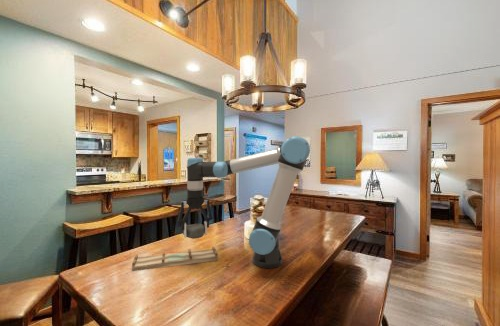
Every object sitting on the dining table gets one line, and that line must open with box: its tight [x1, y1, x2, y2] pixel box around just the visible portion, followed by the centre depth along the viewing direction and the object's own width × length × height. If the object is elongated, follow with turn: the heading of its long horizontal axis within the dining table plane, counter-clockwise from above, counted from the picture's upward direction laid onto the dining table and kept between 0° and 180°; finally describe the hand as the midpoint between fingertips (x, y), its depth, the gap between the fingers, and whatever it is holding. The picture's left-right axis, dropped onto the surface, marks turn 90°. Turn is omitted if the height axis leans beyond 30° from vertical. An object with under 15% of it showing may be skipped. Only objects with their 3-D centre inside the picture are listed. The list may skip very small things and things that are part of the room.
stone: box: [182, 223, 205, 239], centre depth 117 cm, size 9×9×10 cm
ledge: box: [131, 246, 219, 272], centre depth 121 cm, size 11×40×4 cm, turn 108°
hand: (195, 235), depth 114 cm, fingers closed on stone, 9 cm apart
